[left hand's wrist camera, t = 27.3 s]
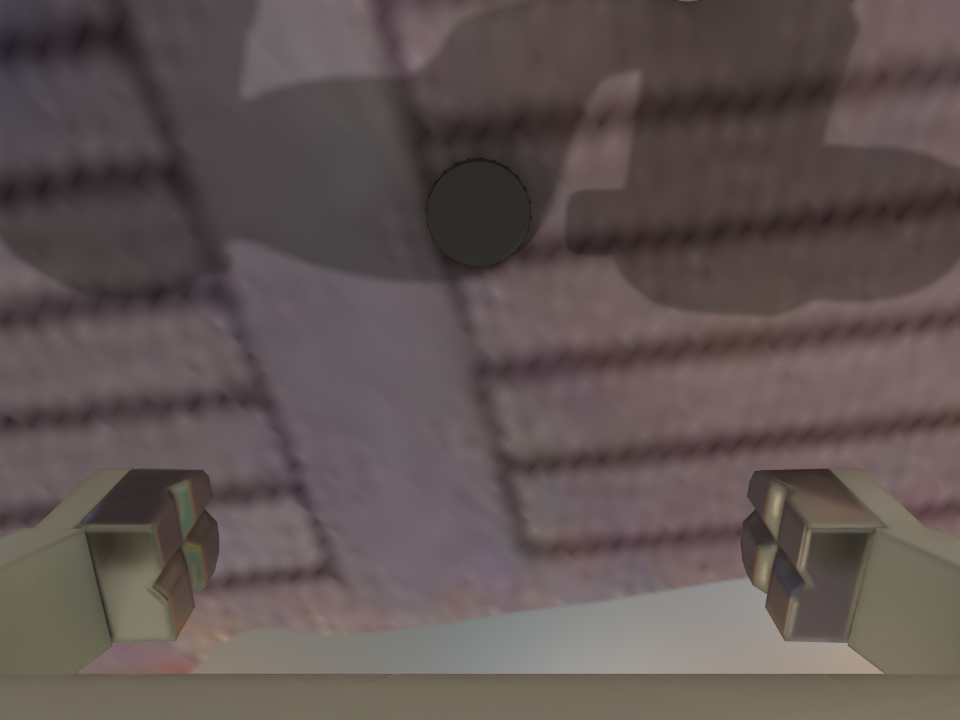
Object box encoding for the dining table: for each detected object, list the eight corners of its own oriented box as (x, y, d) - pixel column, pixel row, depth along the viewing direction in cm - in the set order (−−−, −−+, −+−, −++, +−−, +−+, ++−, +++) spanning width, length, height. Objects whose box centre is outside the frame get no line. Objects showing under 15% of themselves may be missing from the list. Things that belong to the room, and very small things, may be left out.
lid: (433, 263, 39) (430, 271, 37) (423, 161, 37) (420, 164, 35) (531, 256, 39) (534, 263, 37) (527, 153, 37) (529, 156, 35)
